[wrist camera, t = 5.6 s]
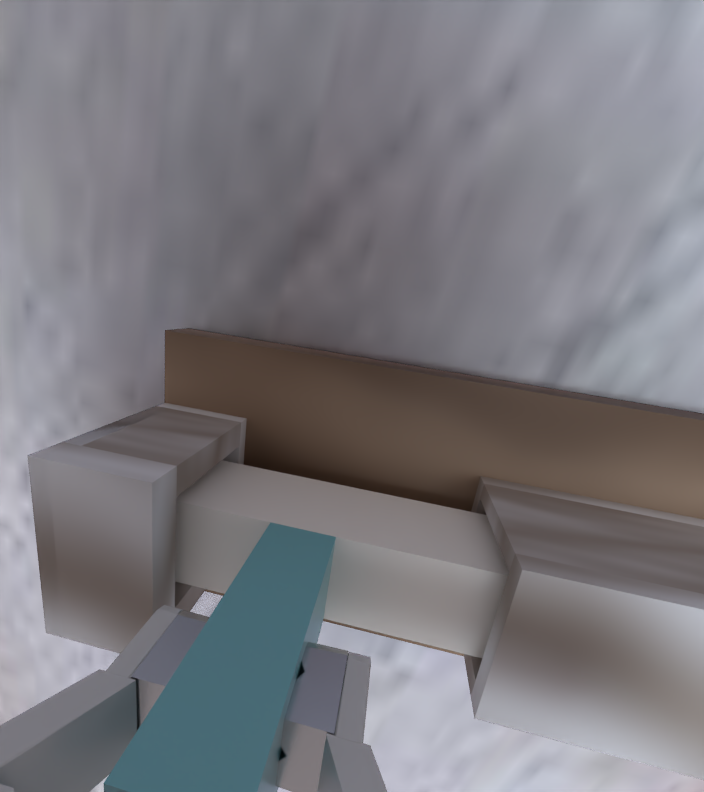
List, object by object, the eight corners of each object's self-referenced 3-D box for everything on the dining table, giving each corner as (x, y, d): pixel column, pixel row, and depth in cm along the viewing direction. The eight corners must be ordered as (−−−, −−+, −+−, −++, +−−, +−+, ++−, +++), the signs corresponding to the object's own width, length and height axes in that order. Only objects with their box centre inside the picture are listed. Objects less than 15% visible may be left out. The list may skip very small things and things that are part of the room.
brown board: (187, 328, 15) (16, 342, 9) (805, 430, 13) (1256, 567, 6) (182, 559, 18) (53, 703, 12) (678, 679, 16) (881, 955, 9)
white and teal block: (220, 459, 14) (-98, 717, 5) (661, 551, 12) (1332, 1184, 3) (217, 526, 14) (-64, 848, 6) (631, 621, 13) (1108, 1280, 4)
